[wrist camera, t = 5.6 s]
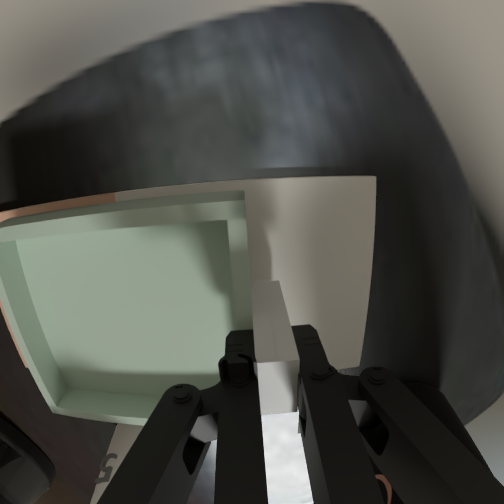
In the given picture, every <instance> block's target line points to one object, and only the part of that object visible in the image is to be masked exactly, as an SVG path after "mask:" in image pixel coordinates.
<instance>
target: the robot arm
mask: <svg viewBox="0 0 504 504" xmlns="http://www.w3.org/2000/svg"><path fill="white" fill-rule="evenodd" d="M250 285H251V302H252V317H253V329H252V330H234V331H230V332H229V334H228V335H227V336H226V341H225V355H224V356H223V357H222V358H221V359H220V360H219V362H218V368H219V375H220V382H218V383H217V384H216V385H214V386H212V387H210V388H206V389H202V390H199V389H198V388H197V387H195V386H194V385H190V384H177V385H174V386H172V387H170V388H168V389H167V390H166V391H165V393H164V394H163V396H162V397H161V399H160V401H159V402H158V404H157V406H156V407H155V409H154V410H153V412H152V414H151V415H150V417H149V419H148V420H147V422H146V423H145V425H144V427H143V428H142V430H141V432H140V433H139V435H138V437H137V438H136V440H135V441H134V443H133V445H132V446H131V448H130V450H129V451H128V453H127V454H126V456H125V458H124V459H123V461H122V463H121V464H120V466H119V468H118V469H117V471H116V472H115V474H114V476H113V477H112V479H111V481H110V482H109V484H108V486H107V487H106V489H105V490H104V492H103V494H102V495H101V497H100V499H99V500H98V502H97V504H186V502H187V500H188V498H189V495H190V493H191V490H192V488H193V486H194V483H195V481H196V478H197V476H198V473H199V471H200V469H201V466H202V464H203V461H204V459H205V456H206V454H207V451H208V449H209V446H210V444H211V441H213V440H216V439H217V451H216V472H215V494H214V504H268V496H267V484H266V471H265V459H264V447H263V434H262V422H261V415H266V414H279V413H289V412H297V407H298V409H299V425H298V433H301V437H302V442H303V447H304V453H305V458H306V463H307V469H308V474H309V480H310V485H311V491H312V496H313V502H314V504H385V503H384V500H383V497H382V494H381V491H380V488H379V485H378V482H377V479H376V476H375V473H374V470H373V468H372V465H371V462H370V459H369V456H370V457H371V459H372V460H373V461H374V463H375V464H376V465H377V467H378V468H379V470H380V471H381V472H382V474H383V475H384V477H385V478H386V479H387V481H388V482H389V483H390V485H391V486H392V488H393V489H394V490H395V492H396V493H397V494H398V496H399V497H400V499H401V500H402V501H403V503H404V504H504V486H503V485H502V484H501V483H500V482H499V481H498V480H497V479H496V478H495V477H494V476H493V475H492V474H491V473H490V472H489V471H488V470H487V469H486V468H485V467H484V466H483V465H482V464H481V462H480V461H479V460H478V459H477V458H476V457H475V456H474V455H473V454H472V453H471V452H470V451H469V450H468V449H467V448H466V447H465V446H464V445H463V444H462V443H461V442H460V441H459V440H458V439H457V438H456V437H455V436H454V435H453V434H452V433H451V432H450V431H449V430H448V429H447V428H446V426H445V425H444V424H443V423H442V422H441V421H440V420H439V419H438V418H437V417H436V416H435V415H434V414H433V413H432V412H431V411H430V410H429V409H428V408H427V407H426V406H425V405H424V404H423V403H422V402H421V401H420V400H419V399H418V398H417V397H416V396H415V395H414V394H413V393H412V392H411V391H410V390H409V389H408V388H407V387H406V386H405V385H404V384H403V383H402V382H401V381H400V380H399V379H398V378H397V377H396V376H395V375H394V374H393V373H392V372H391V371H389V370H388V369H386V368H383V367H375V366H374V367H369V368H366V369H365V370H363V371H362V372H361V374H360V376H349V375H343V374H340V373H338V372H337V370H336V369H335V367H333V366H332V365H330V364H329V362H328V359H327V356H326V353H325V351H324V348H323V345H322V343H321V340H320V338H319V335H318V332H317V330H316V329H315V328H314V327H313V326H311V325H310V324H306V325H295V326H291V324H290V320H289V316H288V313H287V309H286V305H285V301H284V297H283V294H282V290H281V286H280V282H279V280H276V281H261V282H250ZM368 454H369V456H368ZM55 476H56V472H55V469H54V467H53V465H52V463H51V462H50V461H49V459H48V458H47V457H46V456H45V455H44V454H43V453H42V452H41V450H40V449H39V448H38V447H37V446H35V445H34V444H33V443H32V442H31V441H30V440H29V439H28V438H27V437H26V436H24V435H23V434H22V433H21V432H20V431H18V430H17V429H16V428H15V427H13V426H12V425H11V424H9V423H8V422H7V421H5V420H4V419H2V418H1V417H0V504H34V503H35V502H36V501H37V500H38V498H39V497H40V496H41V495H42V494H43V493H44V492H45V491H47V490H48V489H50V487H51V486H52V483H53V481H54V478H55Z"/></svg>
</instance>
